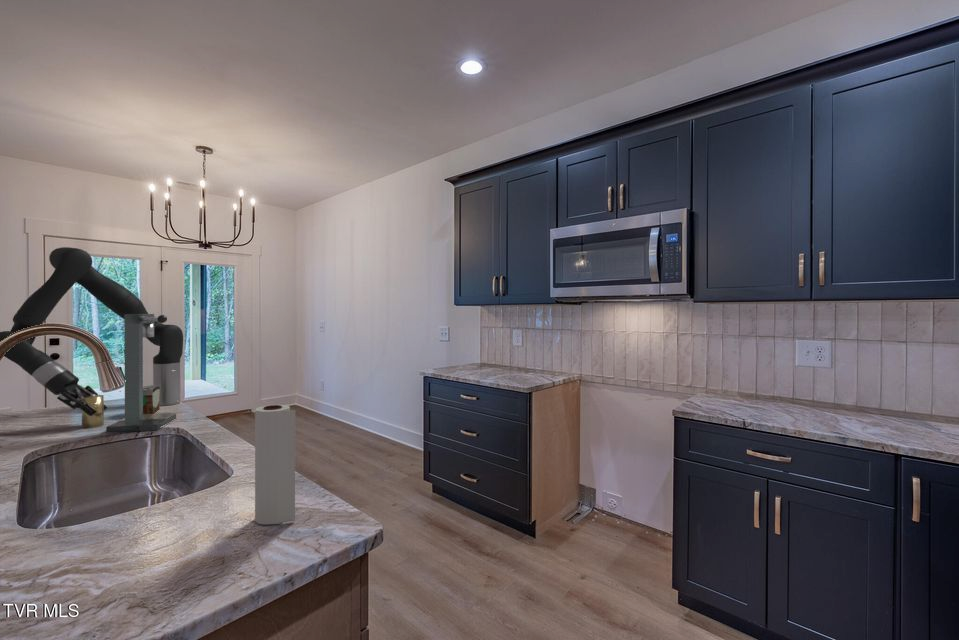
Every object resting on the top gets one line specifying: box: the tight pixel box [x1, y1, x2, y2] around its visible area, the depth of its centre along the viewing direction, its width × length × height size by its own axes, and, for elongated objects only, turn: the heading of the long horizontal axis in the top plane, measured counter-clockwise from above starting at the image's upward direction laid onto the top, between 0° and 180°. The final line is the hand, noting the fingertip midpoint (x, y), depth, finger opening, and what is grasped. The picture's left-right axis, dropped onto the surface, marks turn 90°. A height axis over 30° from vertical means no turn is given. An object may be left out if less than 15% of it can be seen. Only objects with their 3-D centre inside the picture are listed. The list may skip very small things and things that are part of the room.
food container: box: [143, 384, 161, 414], centre depth 163 cm, size 12×6×10 cm, turn 25°
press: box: [105, 313, 177, 433], centre depth 147 cm, size 15×16×38 cm
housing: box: [81, 394, 105, 429], centre depth 146 cm, size 6×6×11 cm
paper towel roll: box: [254, 404, 296, 526], centre depth 82 cm, size 7×6×21 cm
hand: (99, 411), depth 146 cm, fingers closed on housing, 5 cm apart
